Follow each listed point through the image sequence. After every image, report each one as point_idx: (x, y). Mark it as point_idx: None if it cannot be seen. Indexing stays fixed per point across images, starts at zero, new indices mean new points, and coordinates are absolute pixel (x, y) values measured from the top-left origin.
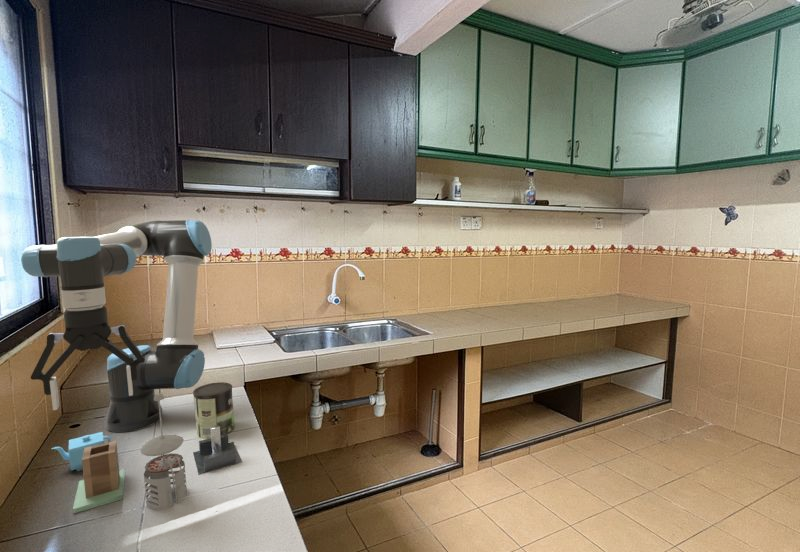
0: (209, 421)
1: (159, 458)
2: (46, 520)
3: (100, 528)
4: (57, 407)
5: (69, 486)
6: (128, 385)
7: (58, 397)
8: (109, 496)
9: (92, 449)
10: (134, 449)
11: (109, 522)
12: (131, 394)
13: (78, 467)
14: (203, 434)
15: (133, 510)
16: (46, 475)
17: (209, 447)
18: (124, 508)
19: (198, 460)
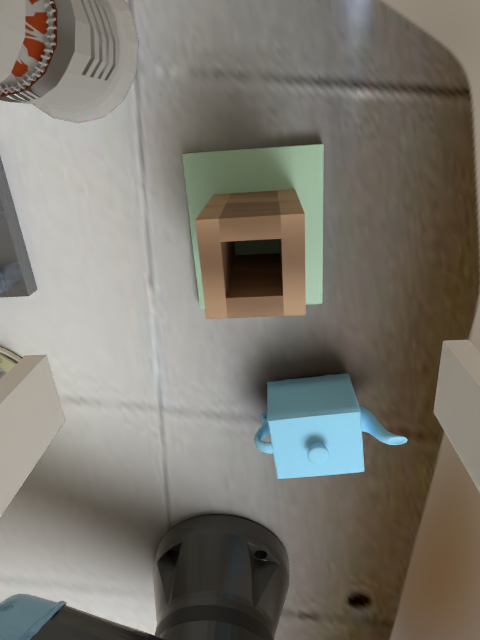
0: None
1: (19, 81)
2: (384, 146)
3: (240, 6)
4: (447, 352)
5: (344, 304)
6: (3, 397)
7: (455, 443)
8: (233, 163)
9: (279, 294)
10: (205, 417)
11: (220, 28)
12: (28, 359)
13: (331, 376)
14: (4, 372)
15: (162, 63)
16: (402, 391)
17: None
18: (189, 91)
19: (2, 236)
